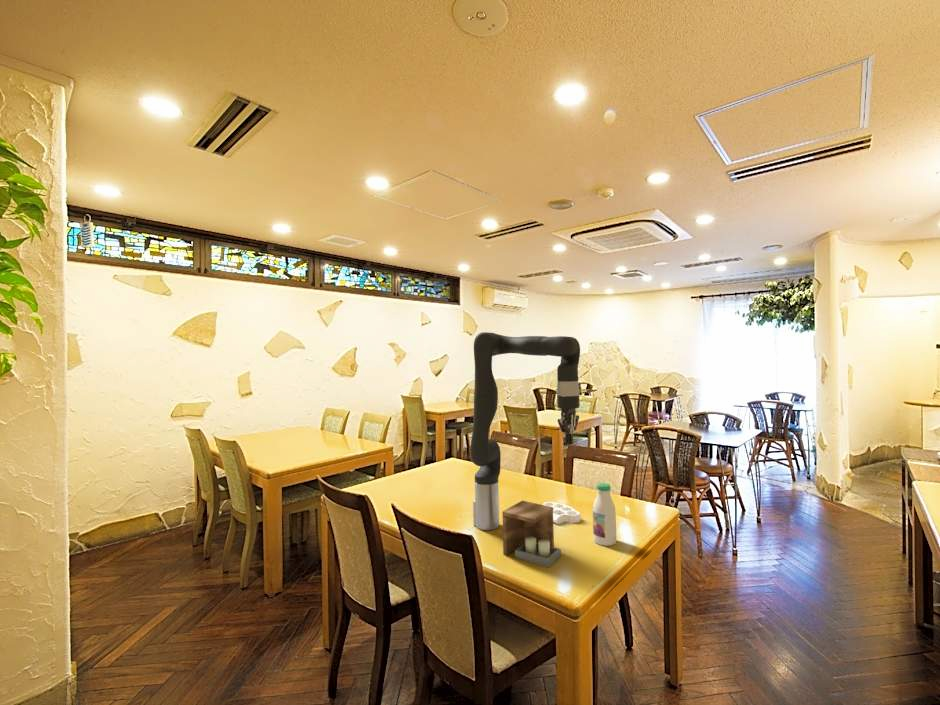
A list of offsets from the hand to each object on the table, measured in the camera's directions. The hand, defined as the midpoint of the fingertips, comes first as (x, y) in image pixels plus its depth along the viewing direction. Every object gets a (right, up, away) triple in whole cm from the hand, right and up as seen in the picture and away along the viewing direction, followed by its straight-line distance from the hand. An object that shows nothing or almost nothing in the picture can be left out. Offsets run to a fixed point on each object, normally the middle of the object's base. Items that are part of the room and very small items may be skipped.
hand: (569, 444), depth 144 cm
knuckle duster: (+2, -36, +27) cm, 45 cm away
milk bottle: (+13, -35, +3) cm, 37 cm away
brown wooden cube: (-14, -35, -4) cm, 38 cm away
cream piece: (-10, -35, -9) cm, 37 cm away
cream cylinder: (-14, -35, -6) cm, 38 cm away
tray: (-12, -36, -8) cm, 38 cm away
